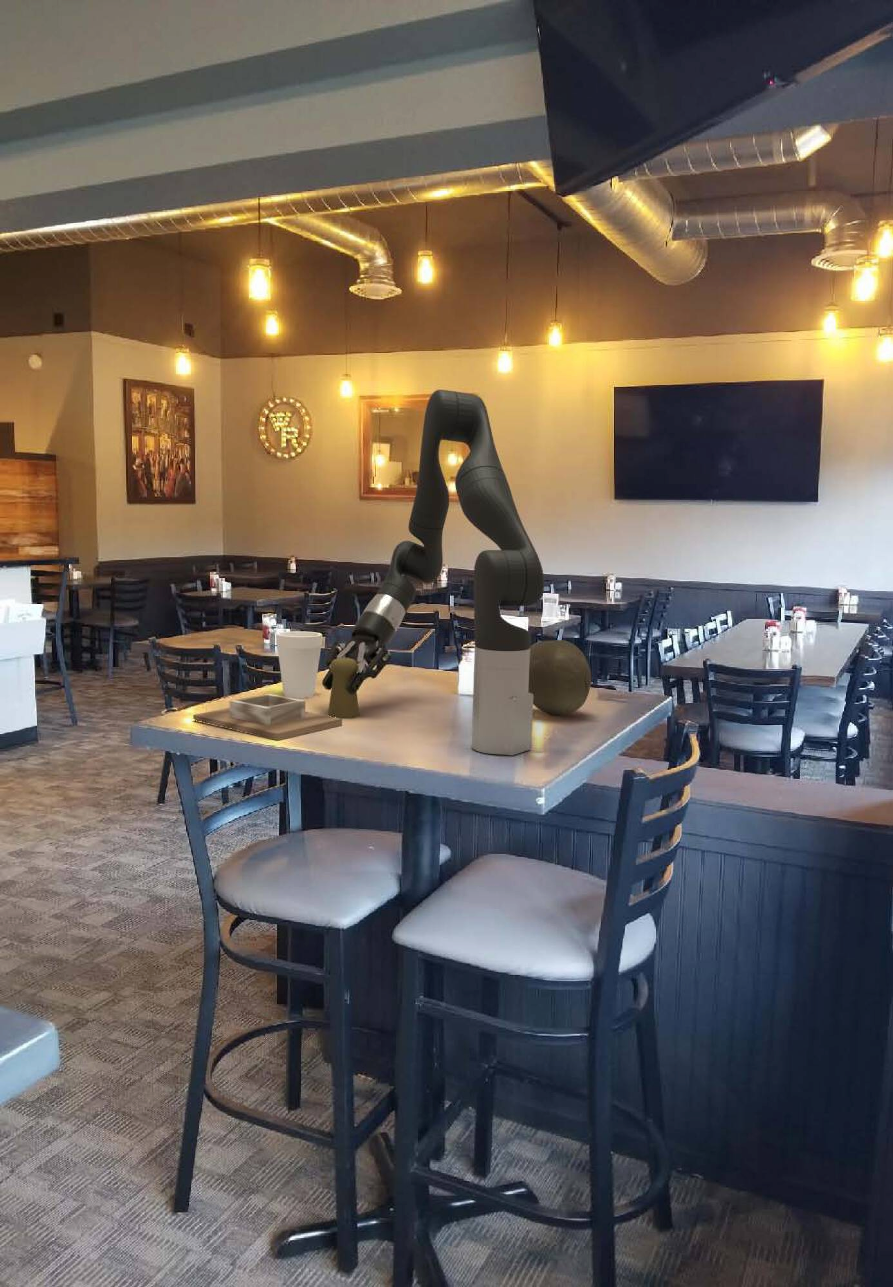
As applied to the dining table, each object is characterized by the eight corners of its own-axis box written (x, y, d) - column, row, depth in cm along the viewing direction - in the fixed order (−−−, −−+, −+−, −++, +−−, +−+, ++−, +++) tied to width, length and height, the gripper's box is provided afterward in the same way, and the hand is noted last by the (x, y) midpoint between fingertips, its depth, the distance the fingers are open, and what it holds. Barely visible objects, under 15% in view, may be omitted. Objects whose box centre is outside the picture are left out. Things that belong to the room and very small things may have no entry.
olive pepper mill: (354, 719, 182) (354, 661, 180) (323, 716, 183) (324, 659, 181) (363, 712, 187) (364, 656, 186) (333, 710, 189) (334, 655, 187)
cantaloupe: (569, 706, 199) (572, 634, 197) (601, 721, 186) (605, 644, 183) (506, 709, 194) (508, 635, 192) (534, 724, 181) (537, 645, 179)
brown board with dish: (342, 725, 176) (342, 702, 175) (277, 740, 163) (277, 716, 163) (258, 708, 189) (258, 687, 188) (193, 721, 176) (193, 698, 175)
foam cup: (268, 697, 200) (268, 635, 199) (289, 689, 209) (289, 630, 207) (309, 701, 197) (309, 638, 196) (328, 693, 206) (329, 633, 204)
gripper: (343, 606, 193) (300, 672, 185) (399, 612, 184) (356, 682, 176) (360, 631, 197) (319, 696, 190) (415, 637, 189) (375, 706, 181)
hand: (337, 689), depth 183 cm, fingers open, 5 cm apart
